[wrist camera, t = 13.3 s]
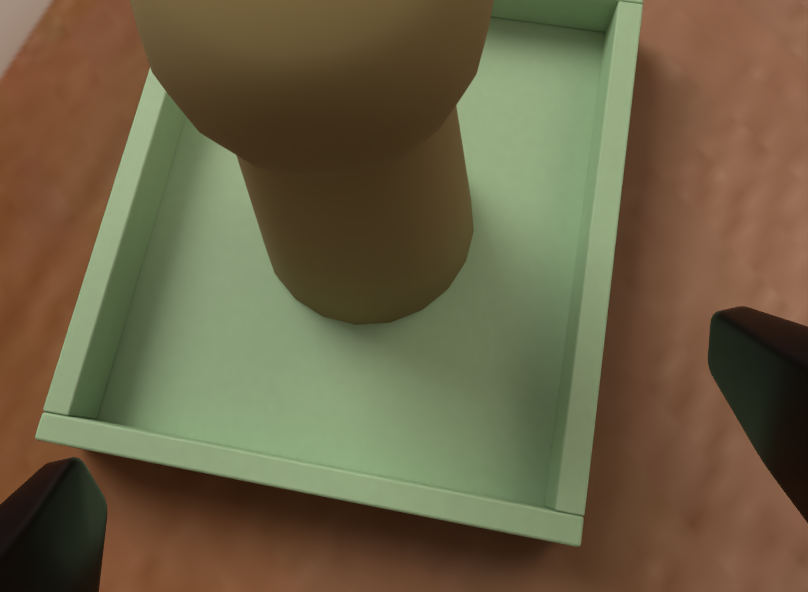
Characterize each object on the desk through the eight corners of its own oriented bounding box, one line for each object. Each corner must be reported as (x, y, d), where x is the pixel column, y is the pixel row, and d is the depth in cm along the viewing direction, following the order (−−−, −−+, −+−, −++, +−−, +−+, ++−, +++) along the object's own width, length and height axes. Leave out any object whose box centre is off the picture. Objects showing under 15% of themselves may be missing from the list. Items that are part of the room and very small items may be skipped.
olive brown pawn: (423, 359, 18) (422, 206, 7) (226, 274, 18) (-44, 21, 8) (505, 169, 19) (611, -204, 8) (318, 97, 20) (194, -329, 9)
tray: (562, 537, 17) (581, 548, 15) (76, 441, 18) (32, 439, 16) (624, 30, 21) (646, -18, 19) (216, -27, 22) (194, -78, 20)
